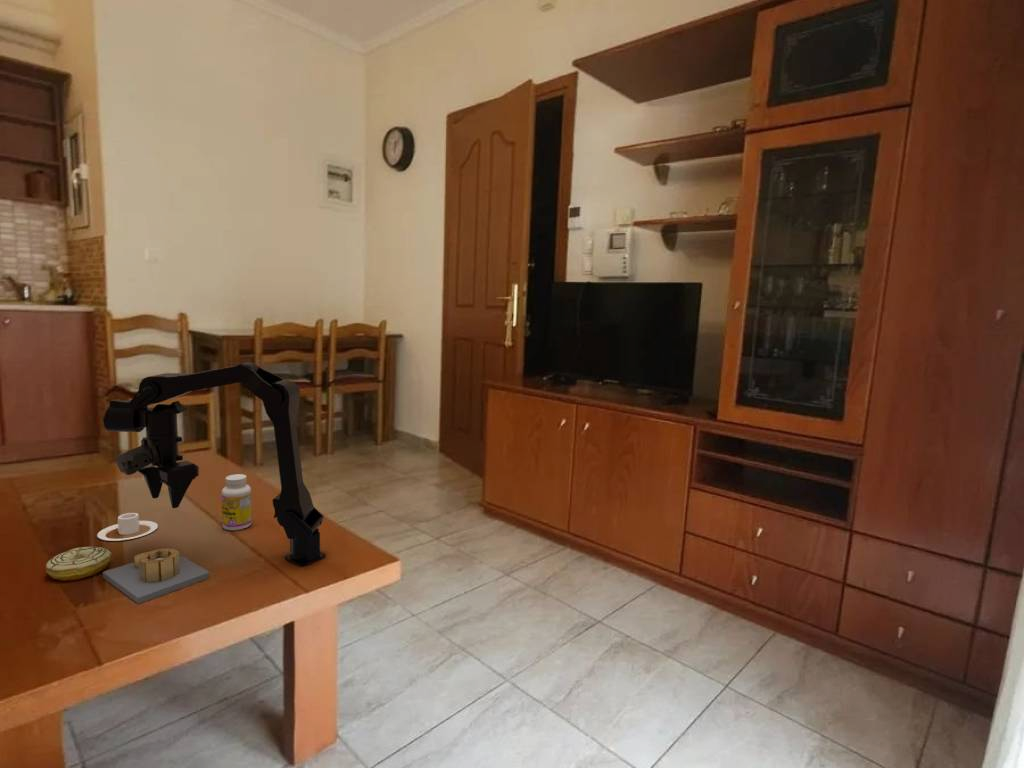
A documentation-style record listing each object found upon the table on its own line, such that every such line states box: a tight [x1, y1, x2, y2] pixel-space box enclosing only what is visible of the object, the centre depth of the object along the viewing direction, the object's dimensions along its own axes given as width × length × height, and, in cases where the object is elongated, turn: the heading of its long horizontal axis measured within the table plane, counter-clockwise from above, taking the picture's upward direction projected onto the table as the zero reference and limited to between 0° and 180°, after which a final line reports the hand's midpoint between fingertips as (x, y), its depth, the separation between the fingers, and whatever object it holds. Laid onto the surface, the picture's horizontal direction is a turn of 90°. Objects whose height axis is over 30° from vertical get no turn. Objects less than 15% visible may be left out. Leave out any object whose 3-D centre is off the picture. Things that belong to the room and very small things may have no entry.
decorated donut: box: [45, 546, 112, 582], centre depth 114 cm, size 10×11×4 cm
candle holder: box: [96, 512, 159, 542], centre depth 133 cm, size 12×12×4 cm
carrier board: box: [102, 551, 211, 605], centre depth 112 cm, size 16×13×4 cm
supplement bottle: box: [221, 473, 253, 531], centre depth 138 cm, size 7×7×13 cm
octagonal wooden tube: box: [139, 548, 180, 582], centre depth 111 cm, size 6×6×4 cm
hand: (165, 502), depth 120 cm, fingers open, 9 cm apart
